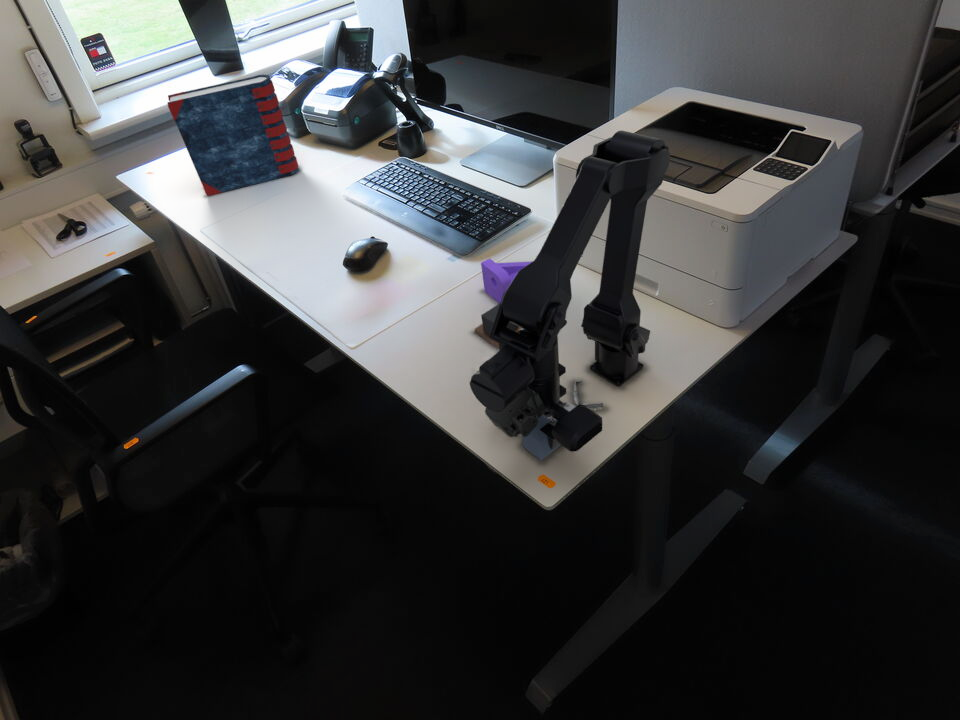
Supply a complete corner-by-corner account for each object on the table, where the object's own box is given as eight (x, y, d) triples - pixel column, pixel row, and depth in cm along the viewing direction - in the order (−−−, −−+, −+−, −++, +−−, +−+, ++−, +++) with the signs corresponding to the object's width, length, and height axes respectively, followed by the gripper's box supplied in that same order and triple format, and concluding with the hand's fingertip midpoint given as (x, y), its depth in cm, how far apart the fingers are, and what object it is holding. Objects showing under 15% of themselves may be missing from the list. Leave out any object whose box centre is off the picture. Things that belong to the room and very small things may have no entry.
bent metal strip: (611, 397, 105) (590, 413, 103) (611, 403, 106) (590, 419, 104) (577, 376, 110) (556, 391, 108) (577, 382, 111) (556, 397, 108)
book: (298, 163, 185) (269, 71, 168) (301, 173, 180) (271, 80, 163) (206, 186, 181) (167, 94, 164) (206, 197, 176) (166, 103, 159)
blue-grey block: (564, 442, 101) (564, 424, 98) (541, 460, 99) (539, 443, 96) (546, 428, 103) (544, 410, 101) (522, 446, 101) (520, 428, 99)
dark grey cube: (518, 328, 121) (517, 311, 118) (498, 342, 119) (496, 324, 116) (503, 319, 123) (501, 301, 120) (483, 332, 121) (481, 315, 118)
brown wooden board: (548, 322, 122) (548, 318, 122) (504, 352, 118) (503, 348, 117) (518, 304, 127) (518, 300, 127) (474, 333, 123) (474, 328, 122)
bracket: (504, 307, 127) (501, 278, 123) (484, 291, 132) (480, 262, 127) (554, 282, 131) (553, 253, 127) (533, 267, 136) (531, 238, 131)
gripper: (448, 362, 92) (463, 436, 103) (543, 433, 81) (549, 508, 91) (507, 323, 97) (516, 398, 108) (605, 385, 86) (604, 462, 96)
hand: (543, 439), depth 101 cm, fingers closed on blue-grey block, 4 cm apart
